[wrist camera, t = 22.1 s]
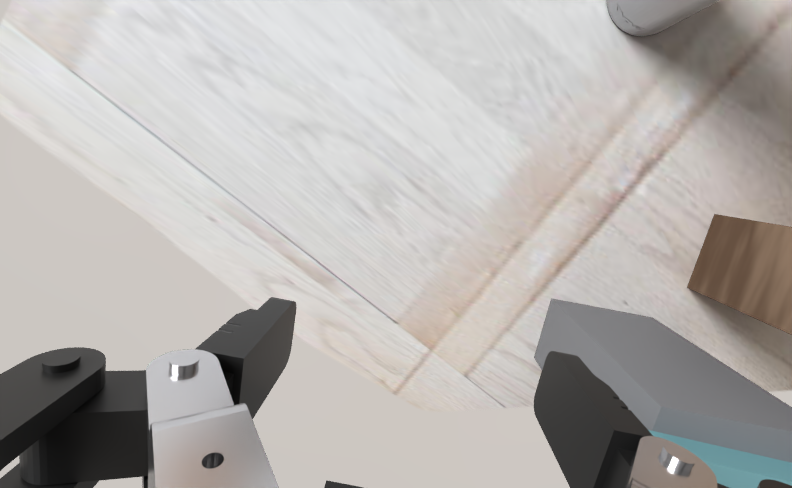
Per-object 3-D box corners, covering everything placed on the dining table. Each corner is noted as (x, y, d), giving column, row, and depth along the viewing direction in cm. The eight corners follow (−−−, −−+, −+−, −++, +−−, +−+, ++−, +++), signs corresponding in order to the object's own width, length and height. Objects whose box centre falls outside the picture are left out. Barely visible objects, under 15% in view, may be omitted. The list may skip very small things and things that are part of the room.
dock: (534, 357, 52) (624, 502, 30) (551, 298, 50) (661, 406, 28) (631, 375, 52) (795, 535, 30) (652, 317, 50) (844, 441, 28)
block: (555, 455, 29) (568, 480, 27) (572, 412, 28) (586, 434, 26) (825, 516, 29) (860, 547, 27) (849, 475, 29) (888, 503, 26)
